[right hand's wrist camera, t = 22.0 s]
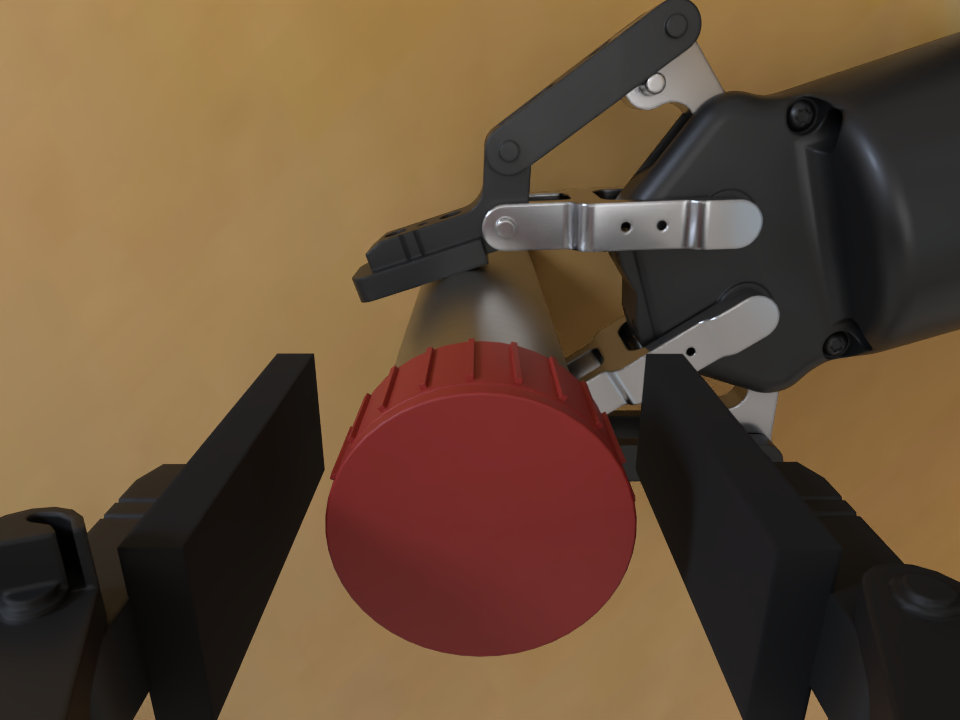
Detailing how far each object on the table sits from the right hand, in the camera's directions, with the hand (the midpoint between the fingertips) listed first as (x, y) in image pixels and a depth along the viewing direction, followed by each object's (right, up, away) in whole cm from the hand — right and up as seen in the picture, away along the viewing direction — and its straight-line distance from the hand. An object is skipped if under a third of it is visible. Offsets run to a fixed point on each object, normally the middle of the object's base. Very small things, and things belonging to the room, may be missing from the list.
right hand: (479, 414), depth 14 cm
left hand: (-3, +1, +6) cm, 6 cm away
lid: (0, -1, -4) cm, 4 cm away
